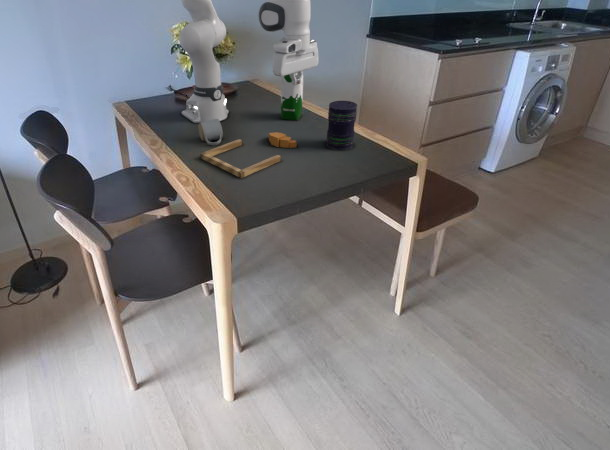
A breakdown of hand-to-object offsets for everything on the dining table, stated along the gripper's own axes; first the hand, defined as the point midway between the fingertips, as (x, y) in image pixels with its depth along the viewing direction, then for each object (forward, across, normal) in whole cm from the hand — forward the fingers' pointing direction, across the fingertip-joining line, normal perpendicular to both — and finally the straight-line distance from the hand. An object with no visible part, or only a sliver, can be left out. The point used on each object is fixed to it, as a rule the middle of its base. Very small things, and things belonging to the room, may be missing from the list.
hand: (296, 84), depth 149 cm
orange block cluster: (+20, +9, 0) cm, 22 cm away
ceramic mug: (+20, +24, -21) cm, 38 cm away
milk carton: (+20, -16, -17) cm, 31 cm away
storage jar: (+21, -6, +17) cm, 27 cm away
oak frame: (+20, +28, 0) cm, 35 cm away
